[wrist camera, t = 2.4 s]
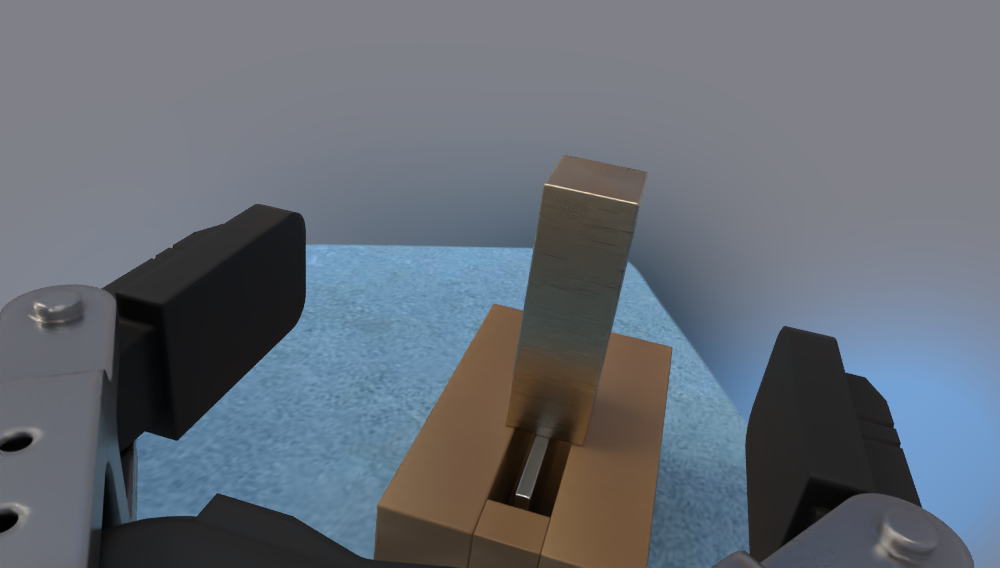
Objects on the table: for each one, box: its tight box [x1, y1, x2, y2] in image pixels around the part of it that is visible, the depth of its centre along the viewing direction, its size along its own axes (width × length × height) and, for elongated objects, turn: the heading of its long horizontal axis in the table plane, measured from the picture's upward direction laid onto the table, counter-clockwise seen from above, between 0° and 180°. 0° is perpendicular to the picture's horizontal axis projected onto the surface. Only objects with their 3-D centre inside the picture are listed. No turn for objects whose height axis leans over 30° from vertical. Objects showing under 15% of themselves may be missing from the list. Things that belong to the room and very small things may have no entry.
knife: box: [505, 155, 648, 514], centre depth 26 cm, size 3×9×14 cm, turn 165°
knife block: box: [374, 304, 672, 568], centre depth 28 cm, size 8×13×6 cm, turn 165°
